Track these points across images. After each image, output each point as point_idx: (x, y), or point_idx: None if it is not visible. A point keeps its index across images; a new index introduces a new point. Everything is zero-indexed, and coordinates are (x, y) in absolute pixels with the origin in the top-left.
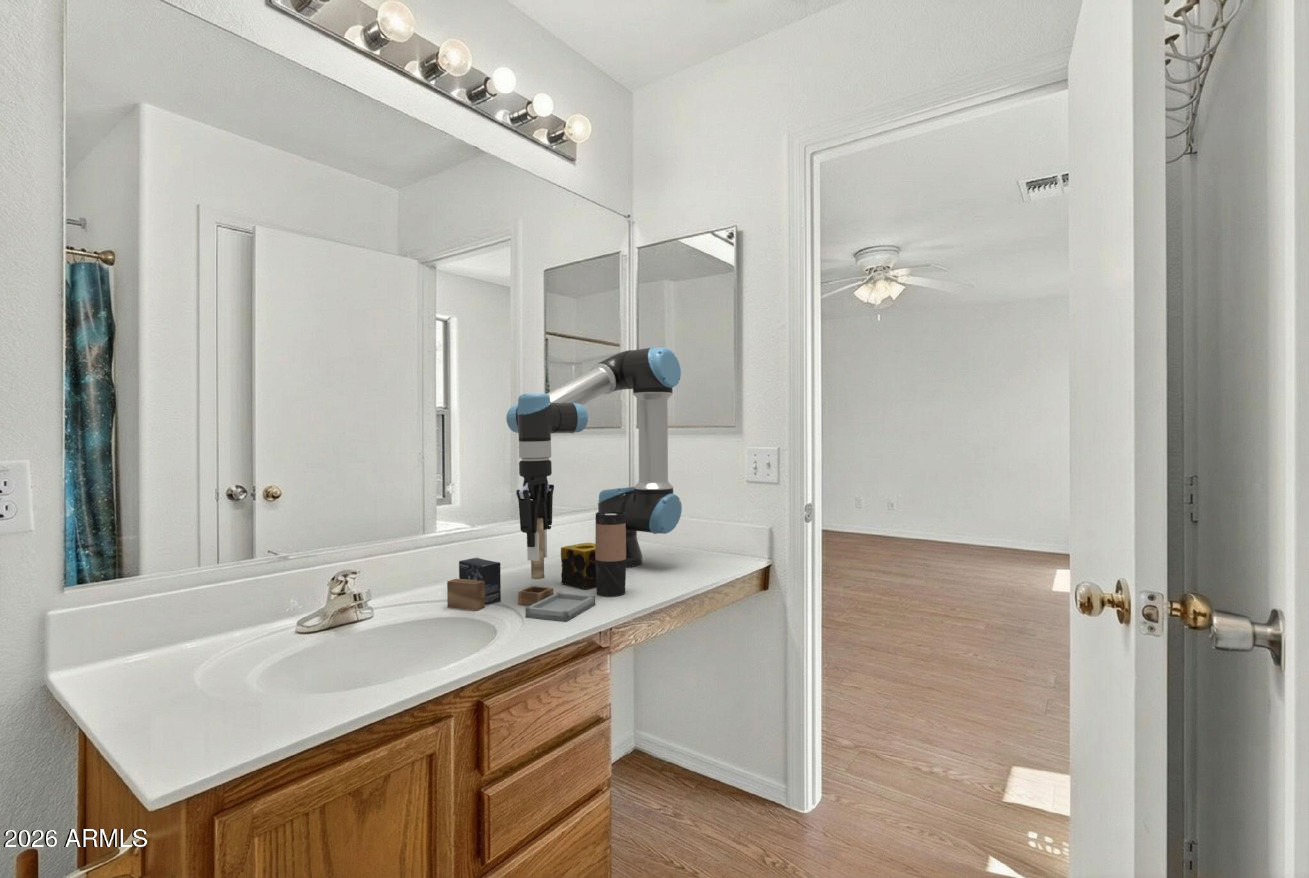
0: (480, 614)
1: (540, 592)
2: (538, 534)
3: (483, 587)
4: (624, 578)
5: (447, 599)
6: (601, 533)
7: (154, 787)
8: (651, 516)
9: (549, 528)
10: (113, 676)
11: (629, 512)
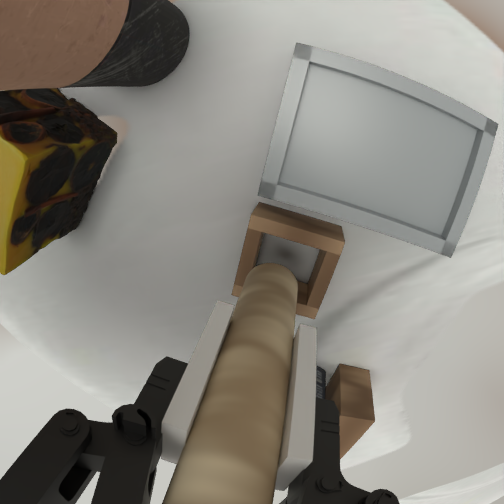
0: (400, 355)
1: (323, 247)
2: (294, 445)
3: (345, 403)
4: None
5: None
6: (11, 4)
7: None
8: None
9: (137, 413)
10: (491, 496)
11: None
